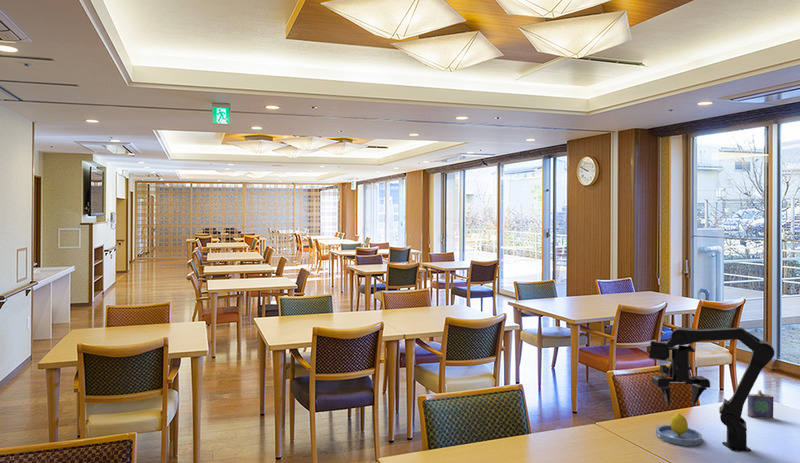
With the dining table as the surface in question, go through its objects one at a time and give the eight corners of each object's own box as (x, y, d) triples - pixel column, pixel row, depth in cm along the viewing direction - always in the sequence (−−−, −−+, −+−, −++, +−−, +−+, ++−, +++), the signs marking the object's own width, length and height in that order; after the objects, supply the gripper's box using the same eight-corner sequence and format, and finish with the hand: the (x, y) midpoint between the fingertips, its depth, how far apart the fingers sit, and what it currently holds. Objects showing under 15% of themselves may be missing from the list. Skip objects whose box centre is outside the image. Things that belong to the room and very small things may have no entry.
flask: (748, 417, 215) (748, 390, 215) (745, 414, 218) (746, 388, 218) (774, 419, 213) (774, 392, 213) (771, 416, 216) (771, 390, 216)
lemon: (683, 432, 196) (683, 411, 195) (690, 438, 190) (690, 416, 190) (667, 432, 196) (668, 410, 196) (674, 438, 191) (674, 416, 191)
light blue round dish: (710, 446, 185) (710, 440, 185) (667, 445, 186) (667, 439, 186) (689, 430, 200) (689, 425, 200) (649, 429, 201) (649, 424, 201)
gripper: (694, 357, 201) (694, 398, 201) (645, 357, 202) (645, 397, 202) (711, 364, 190) (711, 407, 190) (658, 364, 191) (658, 407, 191)
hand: (680, 404), depth 193 cm, fingers open, 9 cm apart
